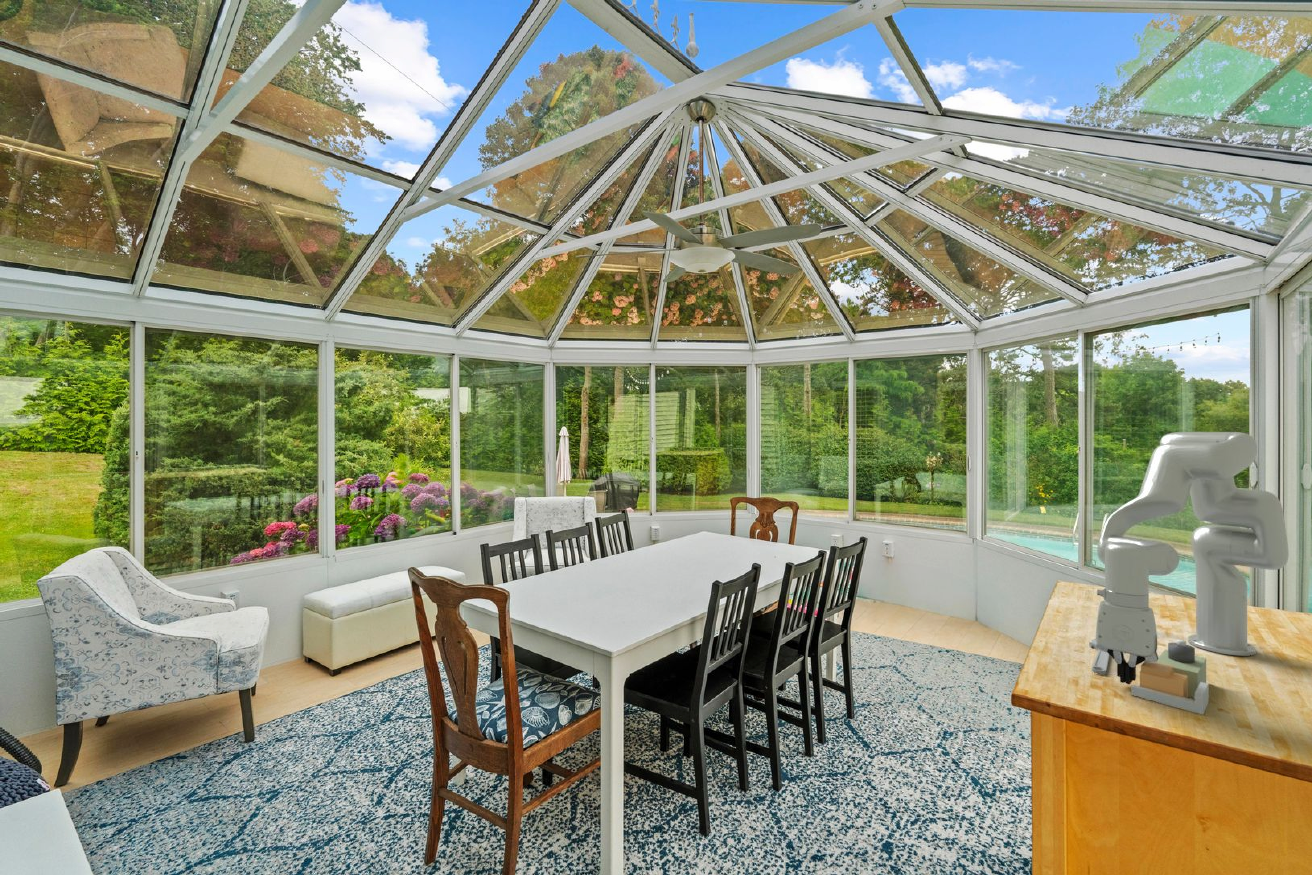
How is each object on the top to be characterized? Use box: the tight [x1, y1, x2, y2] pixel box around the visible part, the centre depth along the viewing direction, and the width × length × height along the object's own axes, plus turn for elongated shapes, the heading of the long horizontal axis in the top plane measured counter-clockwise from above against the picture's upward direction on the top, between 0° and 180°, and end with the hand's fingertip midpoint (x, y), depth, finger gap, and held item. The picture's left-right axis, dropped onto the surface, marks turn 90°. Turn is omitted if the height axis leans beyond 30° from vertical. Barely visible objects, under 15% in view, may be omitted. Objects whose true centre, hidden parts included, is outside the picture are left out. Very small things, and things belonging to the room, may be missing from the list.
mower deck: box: [1131, 639, 1210, 716], centre depth 126 cm, size 20×11×10 cm, turn 130°
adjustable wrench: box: [1088, 638, 1111, 676], centre depth 144 cm, size 25×6×2 cm, turn 133°
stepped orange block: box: [1139, 661, 1189, 699], centre depth 123 cm, size 5×7×6 cm
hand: (1126, 681), depth 128 cm, fingers closed
